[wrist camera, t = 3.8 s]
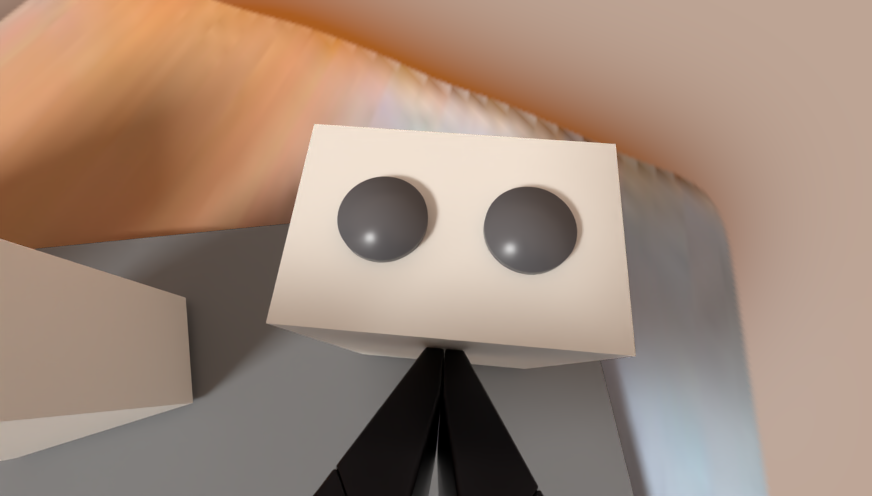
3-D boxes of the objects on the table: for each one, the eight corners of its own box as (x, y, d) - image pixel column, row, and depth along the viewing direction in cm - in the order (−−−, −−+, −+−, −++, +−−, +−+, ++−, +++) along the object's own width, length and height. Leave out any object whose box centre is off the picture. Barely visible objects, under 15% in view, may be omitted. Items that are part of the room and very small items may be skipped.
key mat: (552, 206, 17) (559, 196, 16) (633, 544, 13) (649, 557, 12) (26, 259, 16) (1, 252, 15) (-84, 633, 12) (-129, 655, 11)
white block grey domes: (524, 368, 13) (642, 355, 6) (362, 354, 14) (260, 321, 6) (525, 260, 15) (619, 128, 7) (378, 248, 15) (313, 109, 7)
